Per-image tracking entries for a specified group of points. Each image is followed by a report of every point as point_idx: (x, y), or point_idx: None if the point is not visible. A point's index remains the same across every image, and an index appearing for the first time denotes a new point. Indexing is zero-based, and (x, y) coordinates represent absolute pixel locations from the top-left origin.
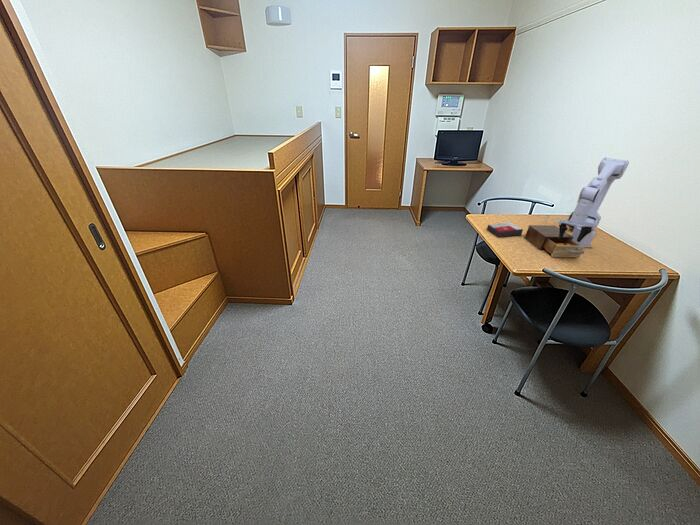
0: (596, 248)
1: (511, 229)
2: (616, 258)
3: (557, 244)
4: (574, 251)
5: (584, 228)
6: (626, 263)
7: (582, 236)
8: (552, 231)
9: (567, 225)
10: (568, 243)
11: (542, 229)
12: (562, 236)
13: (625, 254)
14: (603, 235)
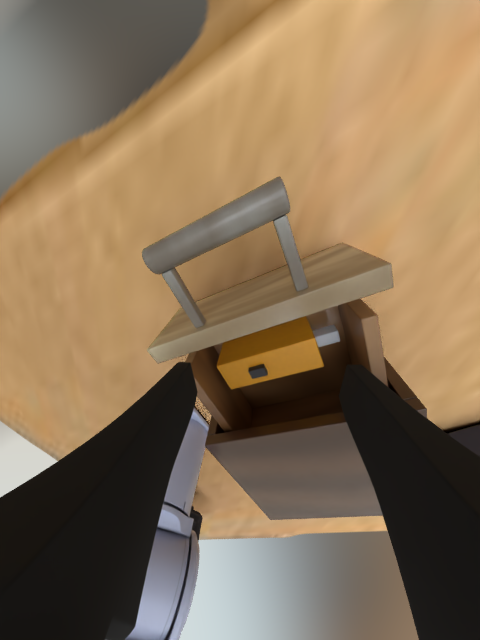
0: (118, 416)
1: None
2: (47, 365)
3: (311, 357)
4: (233, 207)
5: (67, 638)
6: (6, 335)
7: (141, 418)
8: (314, 478)
9: (199, 513)
10: (228, 396)
11: (370, 488)
12: (378, 392)
13: (33, 402)
14: None
